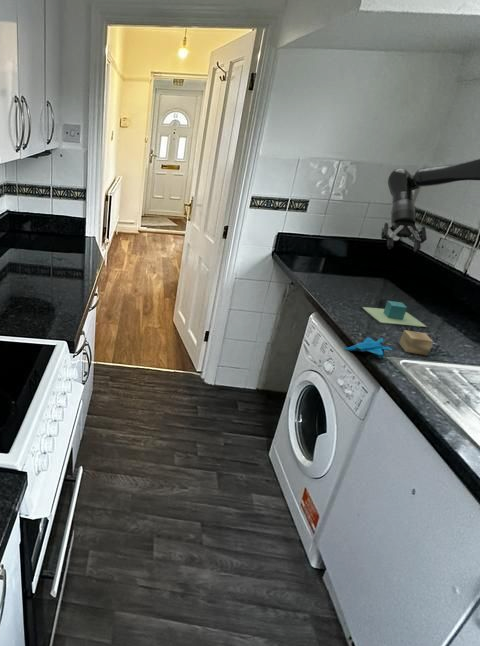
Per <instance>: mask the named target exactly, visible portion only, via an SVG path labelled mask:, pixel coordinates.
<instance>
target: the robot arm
mask: <svg viewBox="0 0 480 646" xmlns="http://www.w3.org/2000/svg"><path fill="white" fill-rule="evenodd" d="M461 181H480V157H478V158H475V159H474V158H473V159H472V160H467V161H464V162H458V163H452V164H451V163H450V164H444V165H443V164H442V165H433V166H429V167H423V168H419V169H417V170H416V171H415V173H414V174H412V173H411V172H410V171H408V170H407V169H405V168H402V167H397V168H395V169H394V170H392V171H391V172H390V173H389V175H388V177H387V186H388V190H389V193H390V196H391V208H390V224H389V223H388V222H385V223H384V224H383V225H382V227H381V235H380V238H381V240H386V247H387V248H388V250H392V249H393V248H394V238H395V237H398V238H407V239H409V241H411V242H413V253H418V252H419V251H420V250H421V248H422V247H421V244H424V242H425V241H427V231H426V230H427V229H426V227H425V226H421V227H417V226H416V207H415V206H416V205H415V200H414V199H415V197H414V196H415V195H414V193H413V191H415V190H418V189H420V188H423V187H434V186H439V185H445V184H451V183H454V182H455V183H456V182H461ZM389 230H390V231H391V232H392V233H391V234H388V233H389Z"/></svg>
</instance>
